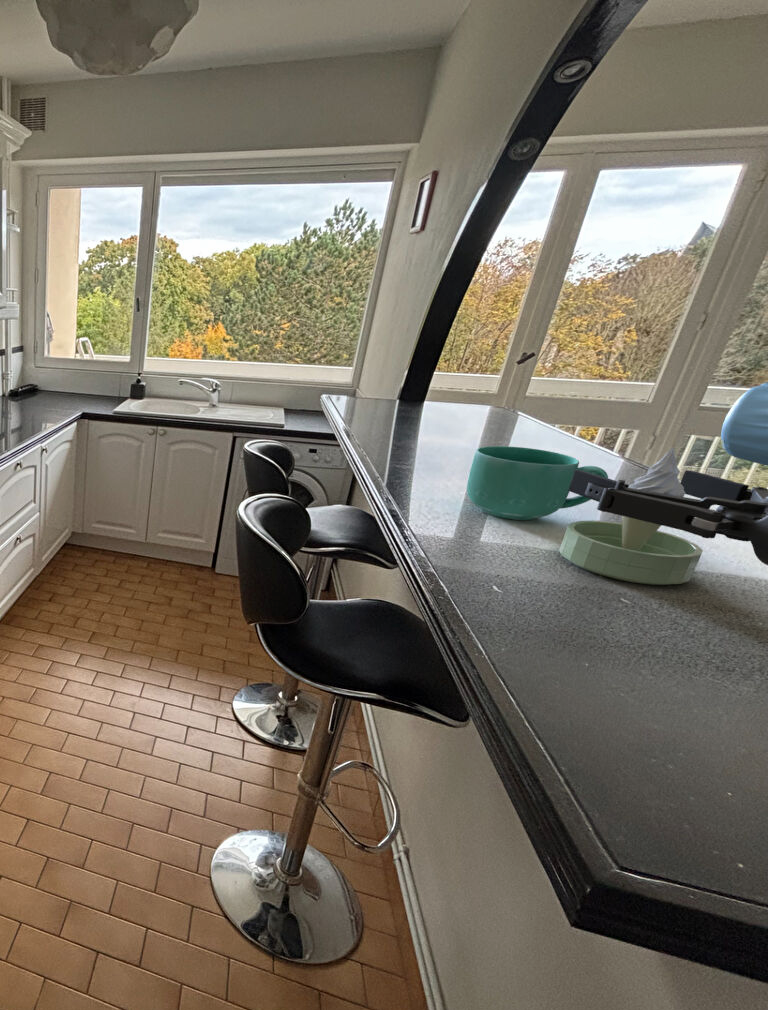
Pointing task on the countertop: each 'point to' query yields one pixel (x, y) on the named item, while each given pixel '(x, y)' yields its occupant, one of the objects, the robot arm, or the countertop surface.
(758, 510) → the robot arm
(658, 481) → the ice cream cone
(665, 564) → the bowl
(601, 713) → the countertop surface
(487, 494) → the mug
